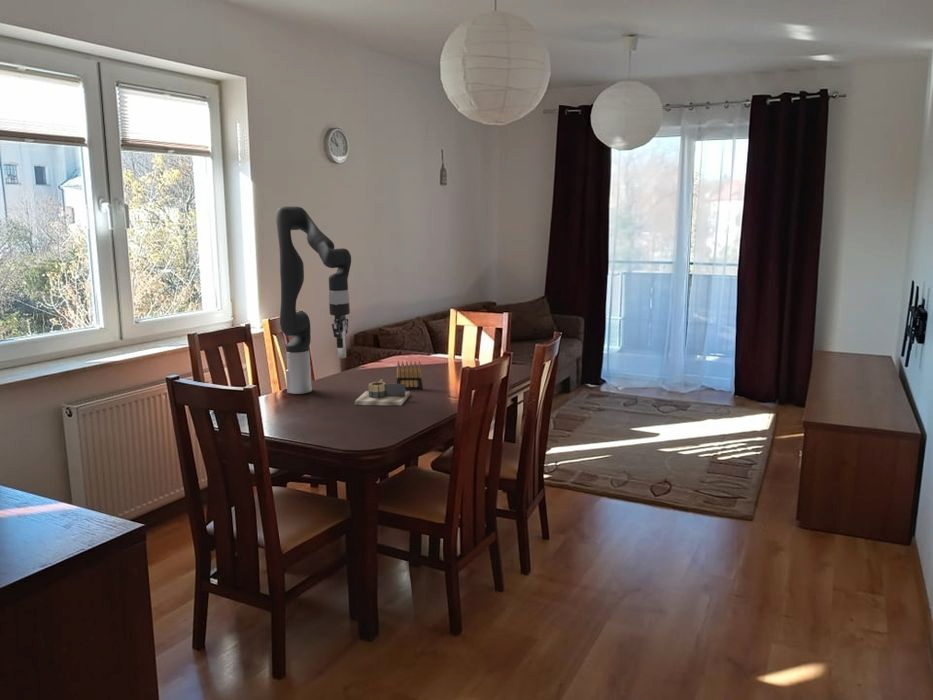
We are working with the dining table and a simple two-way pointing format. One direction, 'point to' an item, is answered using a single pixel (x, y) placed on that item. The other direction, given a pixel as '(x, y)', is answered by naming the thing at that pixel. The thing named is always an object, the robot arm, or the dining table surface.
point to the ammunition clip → (410, 376)
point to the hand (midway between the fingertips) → (341, 346)
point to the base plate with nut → (383, 394)
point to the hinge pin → (342, 350)
